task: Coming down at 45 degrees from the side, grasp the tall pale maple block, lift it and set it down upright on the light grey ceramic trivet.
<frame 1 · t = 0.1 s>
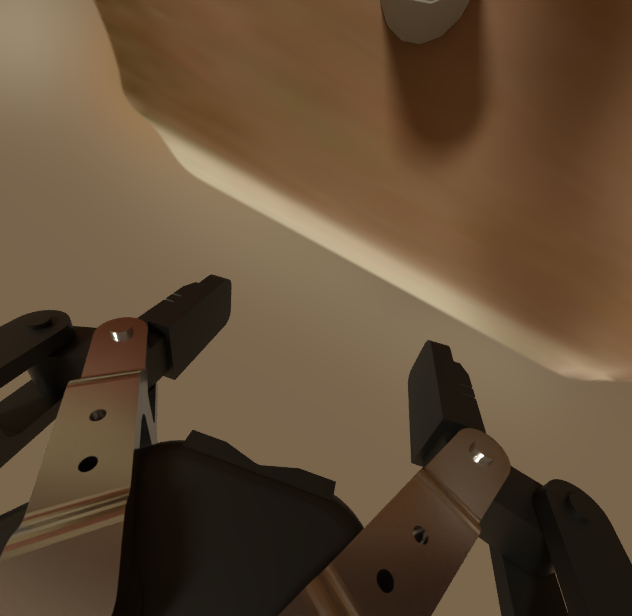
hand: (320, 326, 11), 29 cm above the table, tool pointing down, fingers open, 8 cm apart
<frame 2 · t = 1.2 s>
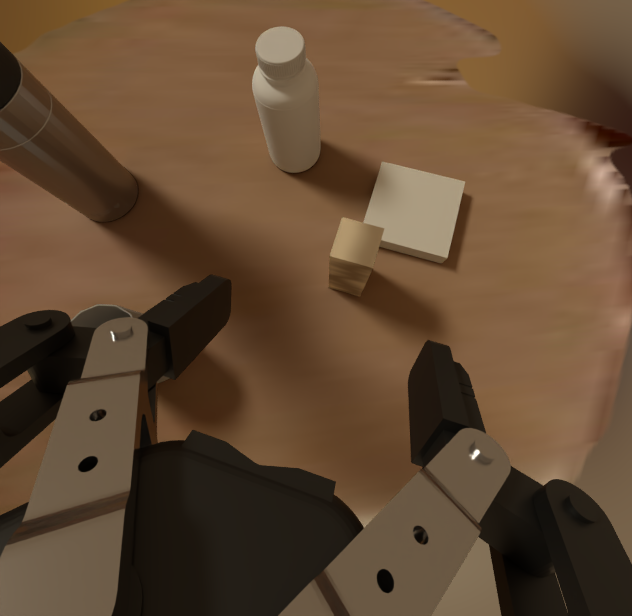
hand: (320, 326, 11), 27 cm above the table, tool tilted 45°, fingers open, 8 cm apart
cup: (157, 351, 38), on the table
trivet: (409, 215, 41), on the table
pill bottle: (295, 153, 45), on the table
maple block: (348, 277, 40), on the table
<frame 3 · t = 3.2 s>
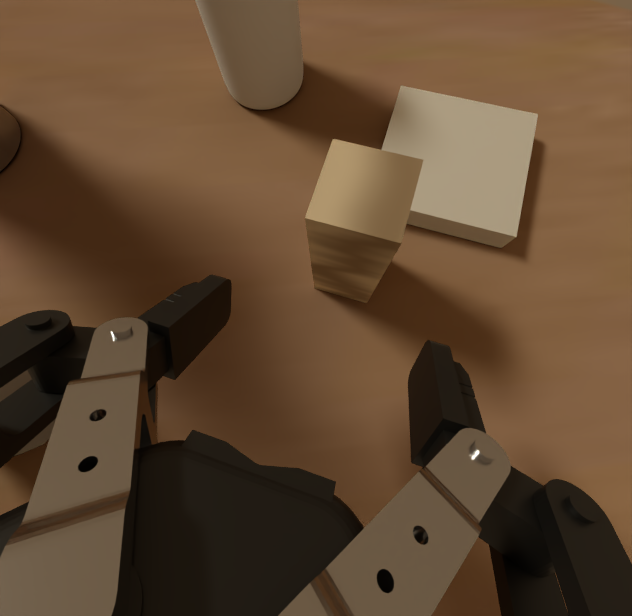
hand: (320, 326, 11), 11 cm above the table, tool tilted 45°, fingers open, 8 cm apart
cup: (25, 397, 23), on the table
trivet: (444, 172, 26), on the table
pill bottle: (265, 83, 29), on the table
maple block: (347, 271, 24), on the table
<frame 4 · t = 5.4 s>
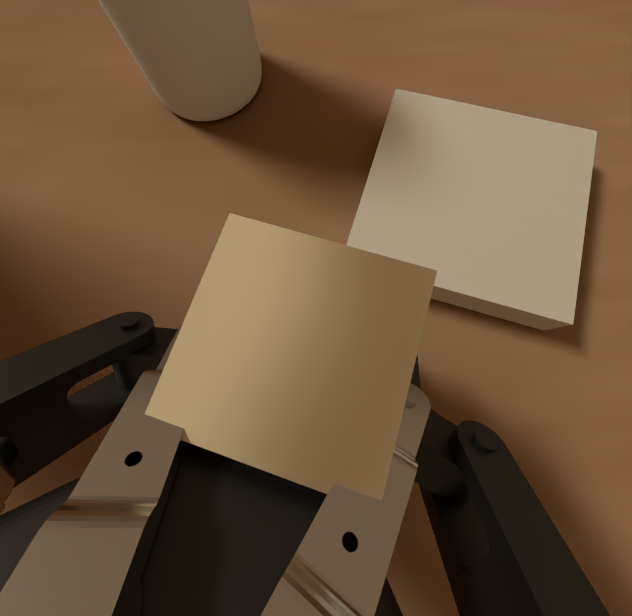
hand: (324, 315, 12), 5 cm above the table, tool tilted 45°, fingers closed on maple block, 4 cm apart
trivet: (458, 212, 18), on the table
pill bottle: (211, 84, 21), on the table
maple block: (315, 363, 16), on the table, touching gripper
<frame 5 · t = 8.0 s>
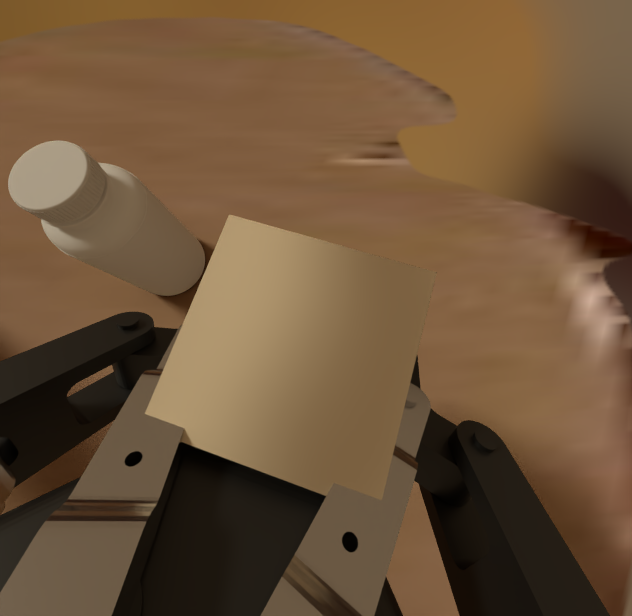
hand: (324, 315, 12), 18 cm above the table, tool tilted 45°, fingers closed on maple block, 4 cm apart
pill bottle: (173, 264, 33), on the table
maple block: (315, 364, 16), point 13 cm above the table, touching gripper
when the fingers open (8 cm above the table, at t = 10.4 s): maple block drops 1 cm, resting on trivet.
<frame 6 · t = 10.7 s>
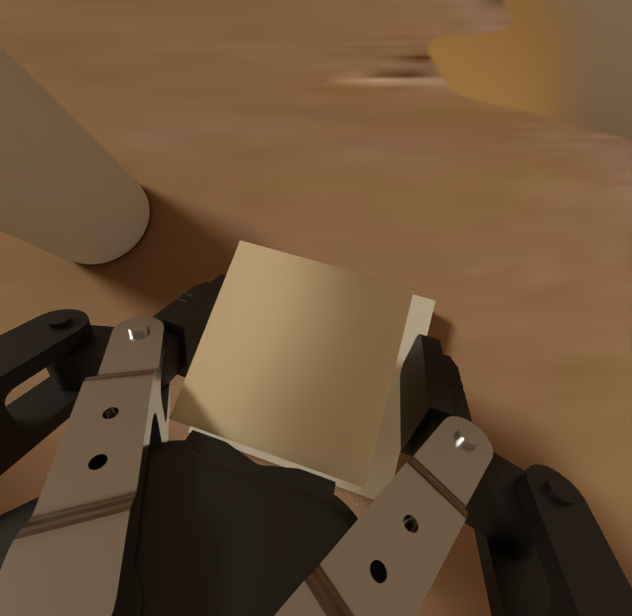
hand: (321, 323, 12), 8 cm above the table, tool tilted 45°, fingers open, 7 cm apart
trivet: (317, 364, 19), on the table
pill bottle: (105, 221, 23), on the table
maple block: (314, 364, 17), point 2 cm above the table, touching trivet
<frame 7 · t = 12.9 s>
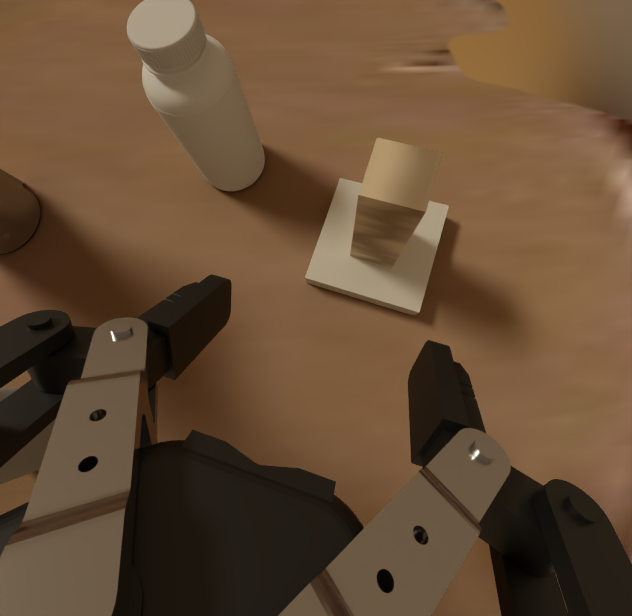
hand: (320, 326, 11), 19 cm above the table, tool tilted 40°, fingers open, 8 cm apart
cup: (49, 424, 31), on the table
trivet: (374, 248, 32), on the table
pill bottle: (234, 165, 35), on the table
maple block: (376, 242, 30), point 2 cm above the table, touching trivet
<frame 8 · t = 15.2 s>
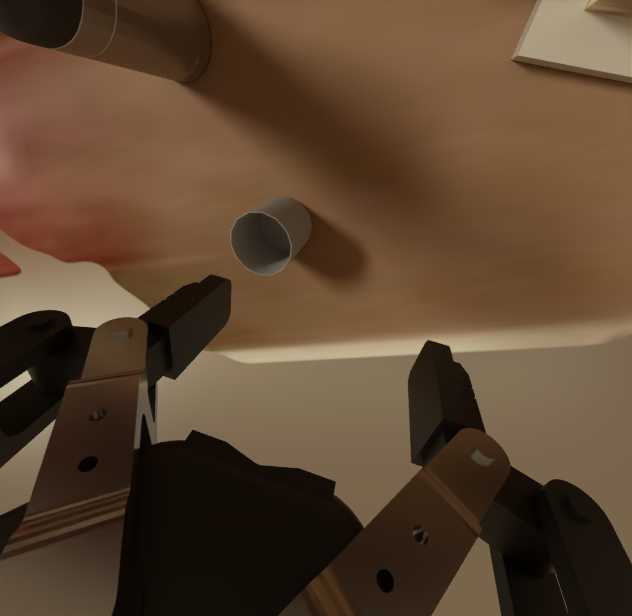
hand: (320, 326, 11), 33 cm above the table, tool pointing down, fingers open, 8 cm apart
cup: (286, 224, 45), on the table
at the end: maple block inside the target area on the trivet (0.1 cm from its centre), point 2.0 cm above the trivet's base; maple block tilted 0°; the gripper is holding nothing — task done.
